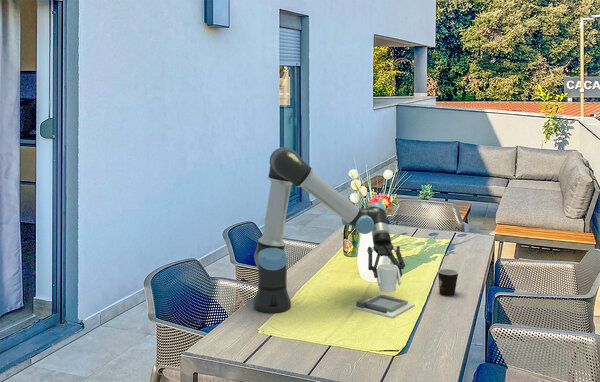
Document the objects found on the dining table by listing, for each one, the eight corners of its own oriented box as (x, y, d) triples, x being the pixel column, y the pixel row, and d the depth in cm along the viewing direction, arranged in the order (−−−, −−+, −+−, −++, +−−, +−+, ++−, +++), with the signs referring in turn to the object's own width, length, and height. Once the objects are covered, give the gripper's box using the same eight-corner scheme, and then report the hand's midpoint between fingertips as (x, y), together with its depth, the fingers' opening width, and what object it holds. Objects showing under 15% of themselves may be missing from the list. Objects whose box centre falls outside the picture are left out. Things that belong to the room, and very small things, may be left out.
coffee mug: (457, 297, 270) (458, 275, 268) (437, 296, 272) (438, 274, 270) (456, 289, 281) (457, 267, 279) (436, 288, 283) (437, 266, 281)
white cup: (398, 293, 254) (398, 269, 252) (378, 293, 254) (379, 269, 252) (395, 286, 262) (396, 263, 260) (376, 286, 262) (377, 263, 260)
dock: (354, 308, 257) (354, 301, 256) (377, 296, 271) (377, 290, 270) (392, 318, 246) (392, 311, 245) (414, 305, 260) (414, 299, 259)
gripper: (402, 239, 271) (412, 287, 258) (356, 241, 269) (363, 289, 256) (406, 230, 265) (416, 279, 252) (358, 232, 263) (366, 280, 250)
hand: (389, 284), depth 254 cm, fingers closed on white cup, 8 cm apart
